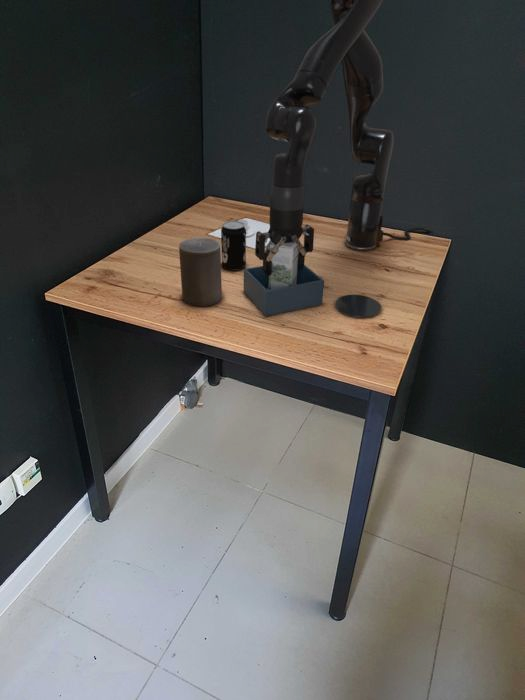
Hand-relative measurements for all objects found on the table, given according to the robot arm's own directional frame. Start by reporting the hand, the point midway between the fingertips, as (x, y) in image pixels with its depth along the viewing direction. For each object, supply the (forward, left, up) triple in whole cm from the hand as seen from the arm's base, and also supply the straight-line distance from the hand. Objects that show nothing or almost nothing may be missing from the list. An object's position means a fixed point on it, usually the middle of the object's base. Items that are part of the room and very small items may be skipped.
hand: (283, 271), depth 120 cm
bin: (0, 0, -7) cm, 7 cm away
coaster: (-15, +11, -7) cm, 20 cm away
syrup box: (0, 0, -7) cm, 7 cm away
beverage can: (+4, -22, -7) cm, 24 cm away
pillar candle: (+18, -8, -7) cm, 21 cm away
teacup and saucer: (-11, -44, -7) cm, 46 cm away
